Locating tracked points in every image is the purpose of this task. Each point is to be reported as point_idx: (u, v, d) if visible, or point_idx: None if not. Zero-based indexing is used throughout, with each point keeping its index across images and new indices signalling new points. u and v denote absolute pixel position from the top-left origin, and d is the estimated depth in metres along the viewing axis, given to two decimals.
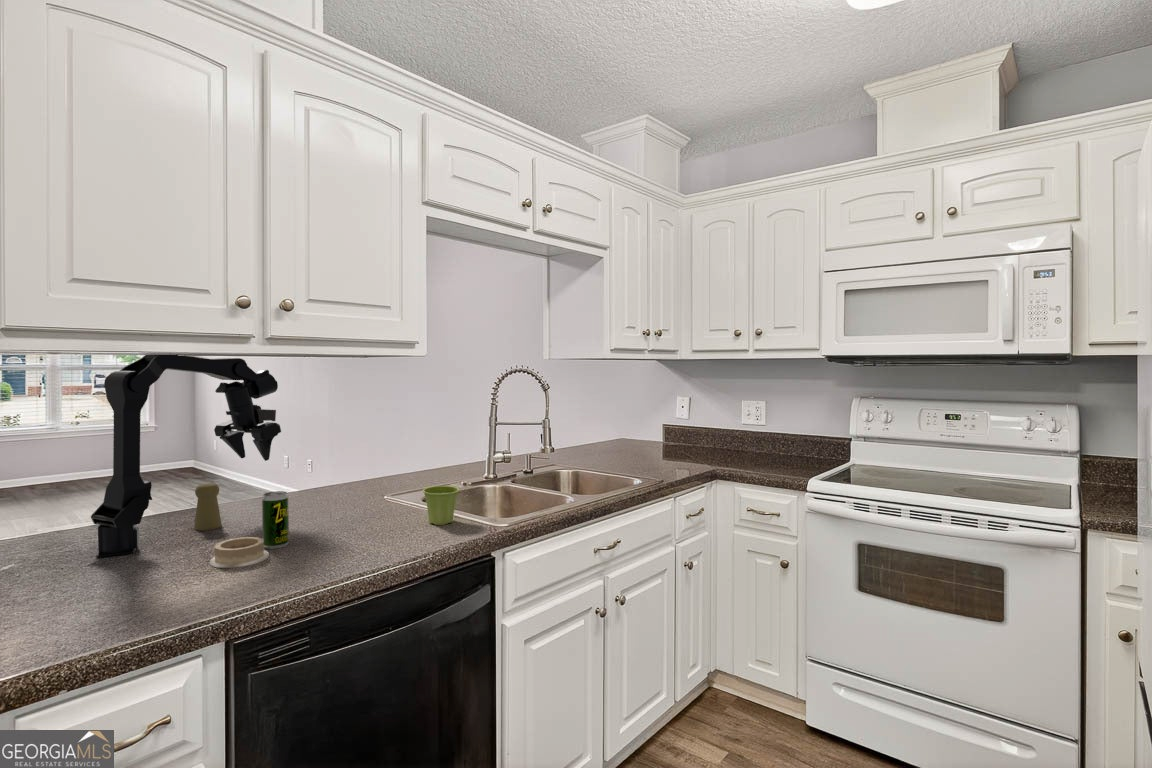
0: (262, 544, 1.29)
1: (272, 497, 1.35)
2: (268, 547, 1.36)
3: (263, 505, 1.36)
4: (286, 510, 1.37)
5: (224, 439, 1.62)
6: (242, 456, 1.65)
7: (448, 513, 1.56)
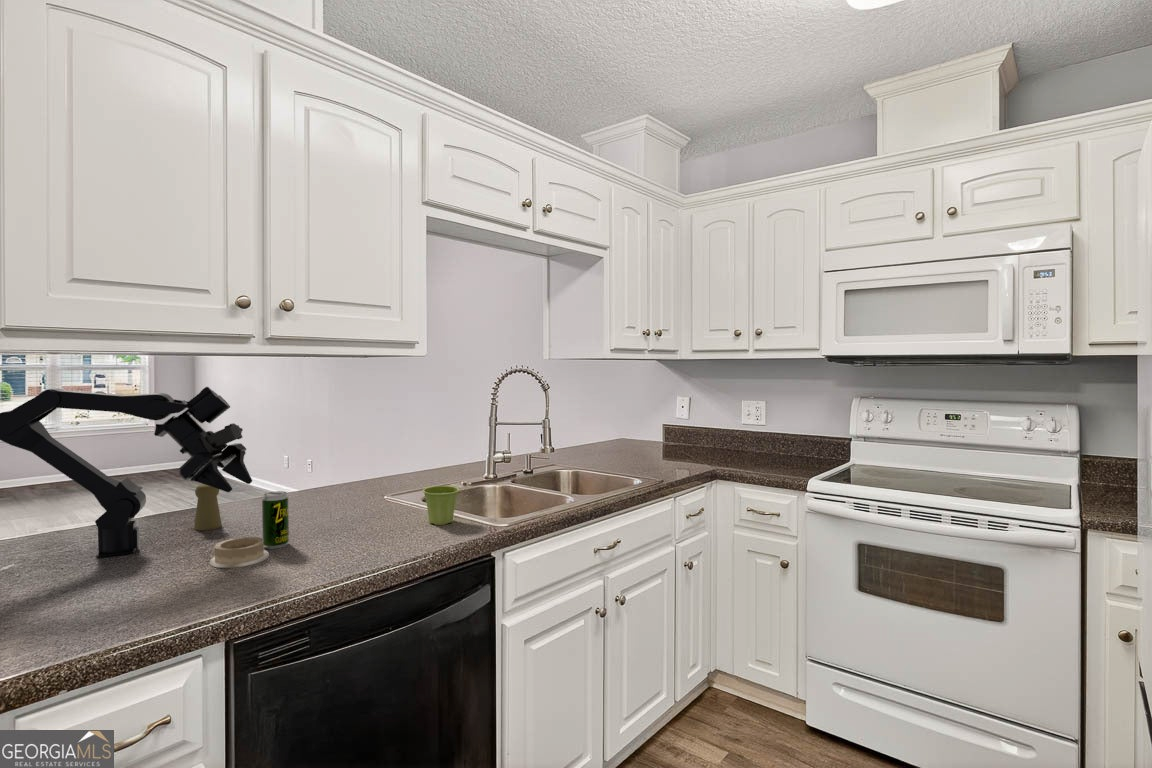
0: (262, 544, 1.29)
1: (272, 497, 1.35)
2: (268, 547, 1.36)
3: (263, 505, 1.36)
4: (286, 510, 1.37)
5: None
6: (247, 482, 1.42)
7: (448, 513, 1.56)
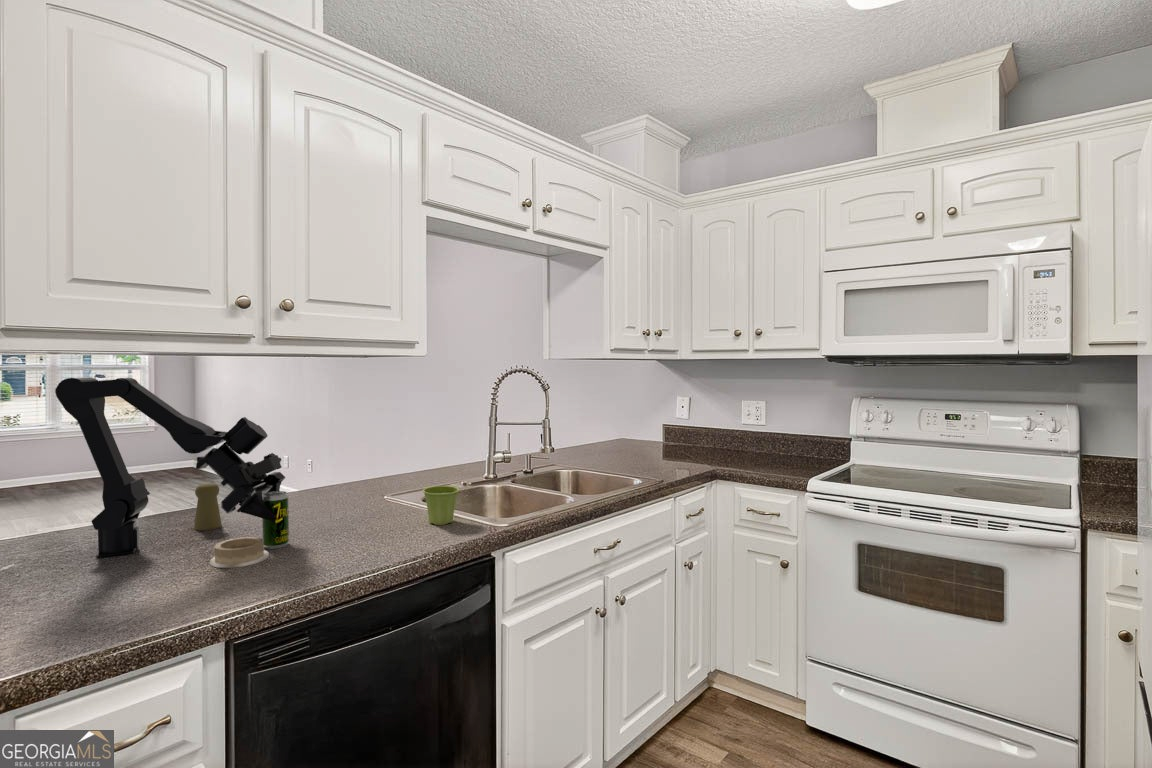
0: (262, 544, 1.29)
1: (272, 497, 1.35)
2: (268, 547, 1.36)
3: None
4: (286, 510, 1.37)
5: None
6: None
7: (448, 513, 1.56)
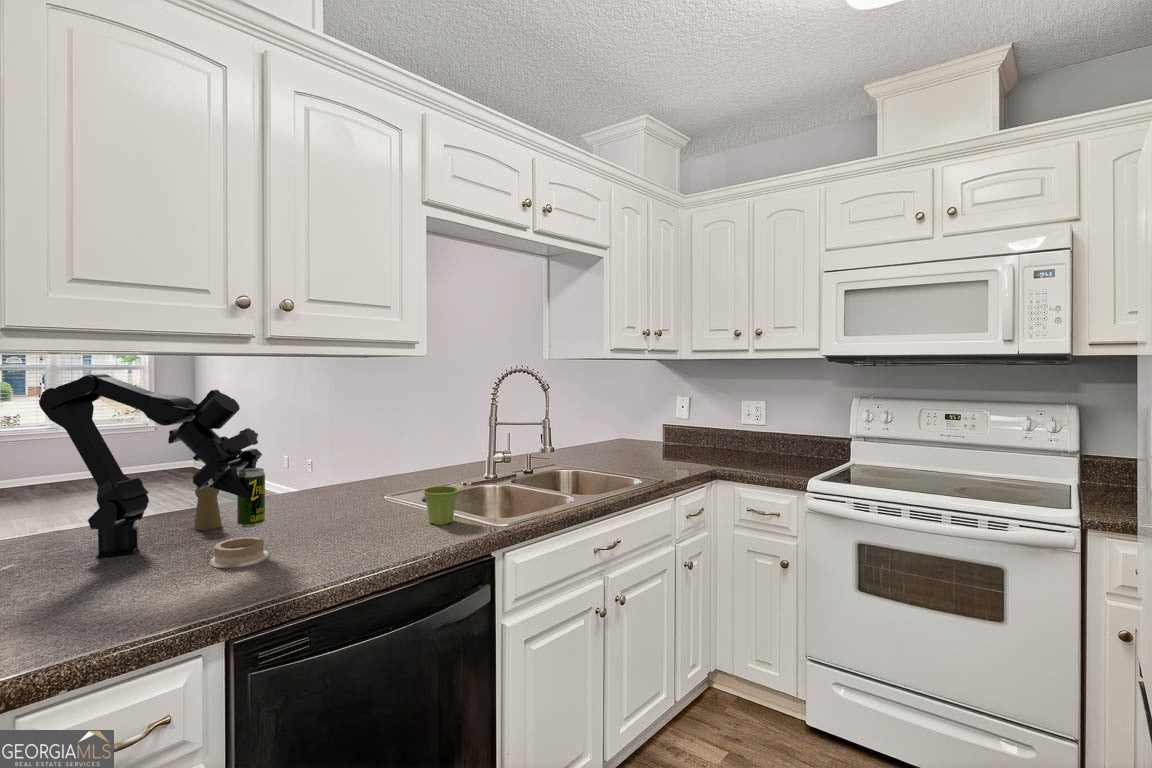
0: (262, 544, 1.29)
1: (248, 473, 1.29)
2: (243, 526, 1.29)
3: None
4: (262, 487, 1.31)
5: None
6: None
7: (448, 513, 1.56)
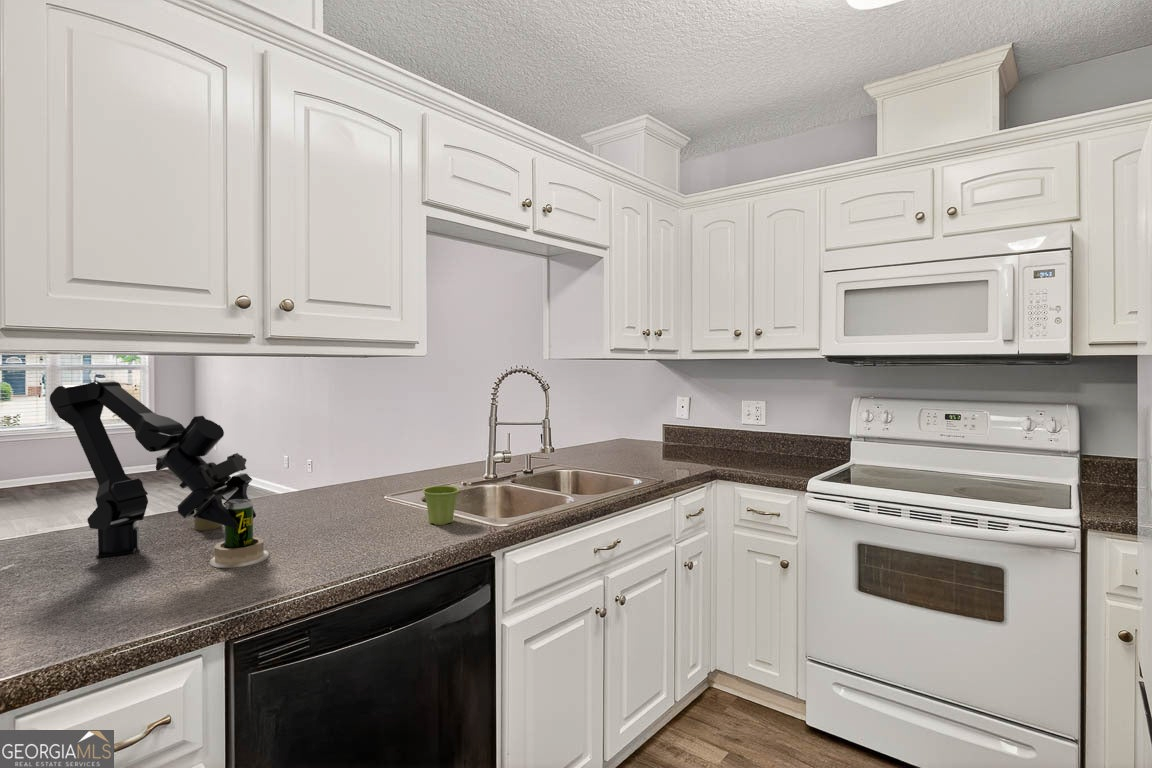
0: (262, 544, 1.29)
1: (235, 505, 1.26)
2: None
3: None
4: (250, 519, 1.28)
5: None
6: None
7: (448, 513, 1.56)
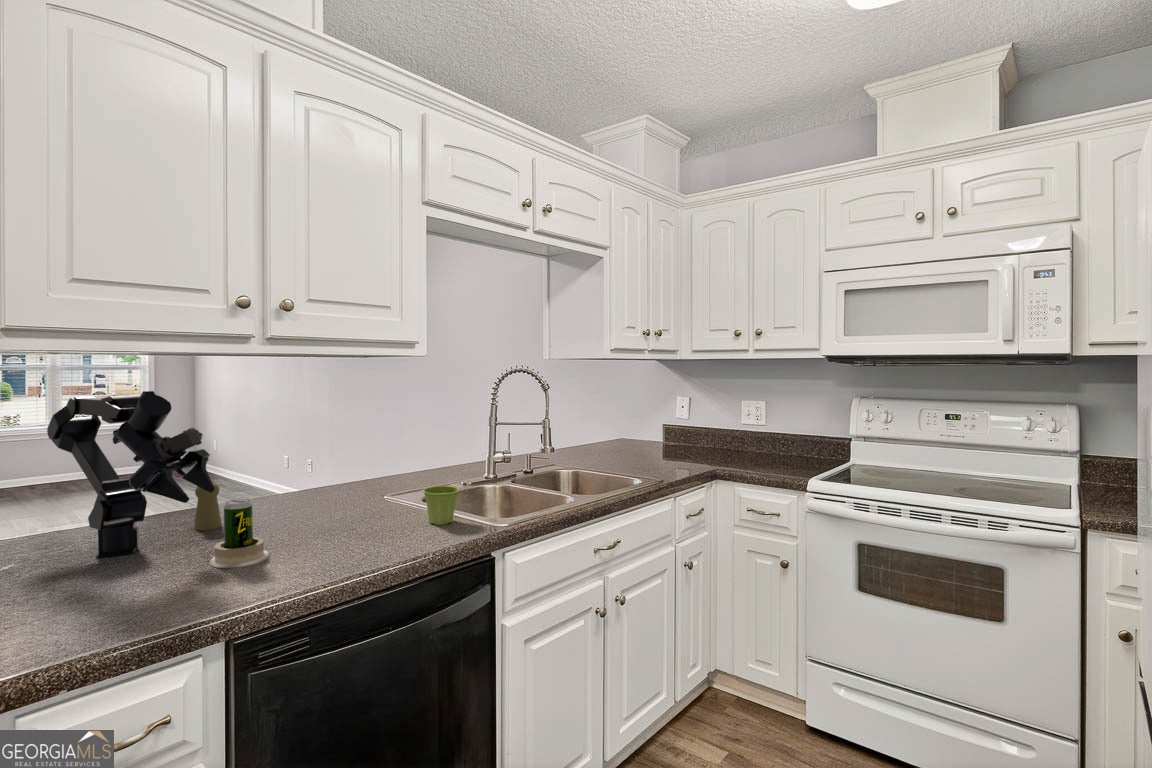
0: (262, 544, 1.29)
1: (234, 505, 1.26)
2: None
3: (224, 514, 1.26)
4: (250, 519, 1.28)
5: None
6: (210, 490, 1.32)
7: (448, 513, 1.56)
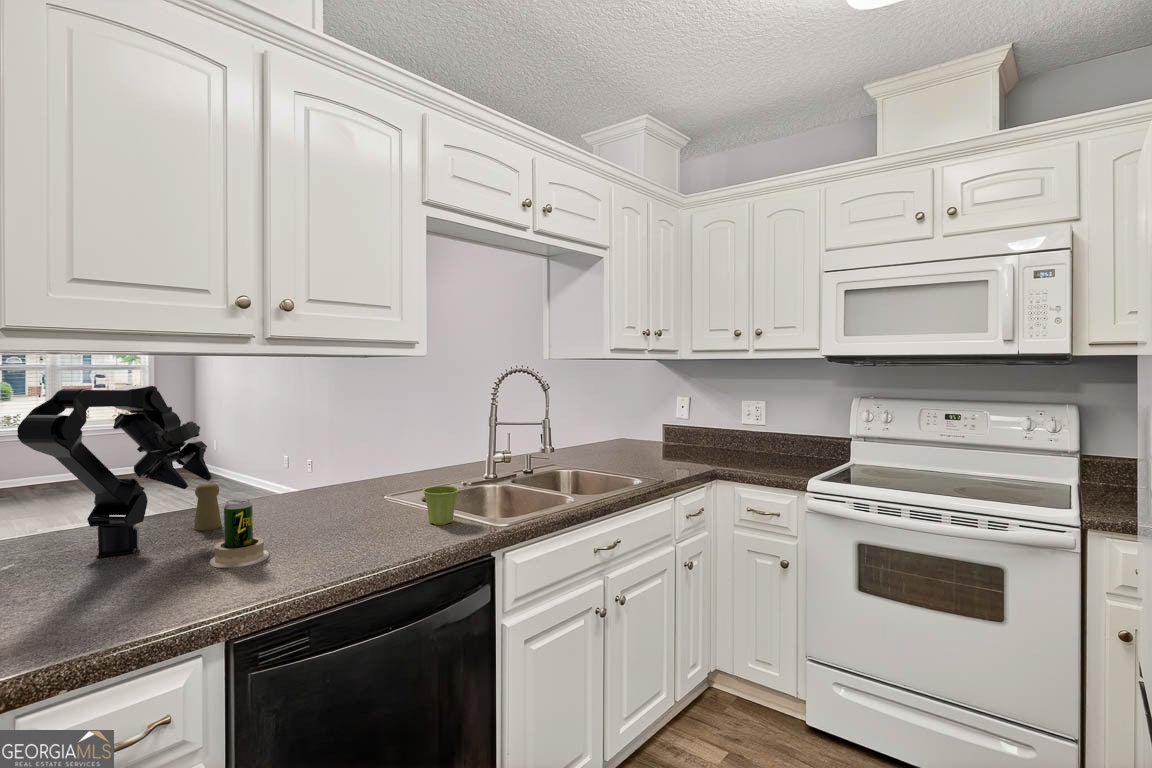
0: (262, 544, 1.29)
1: (234, 505, 1.26)
2: None
3: (224, 514, 1.26)
4: (250, 519, 1.28)
5: None
6: (207, 478, 1.45)
7: (448, 513, 1.56)
